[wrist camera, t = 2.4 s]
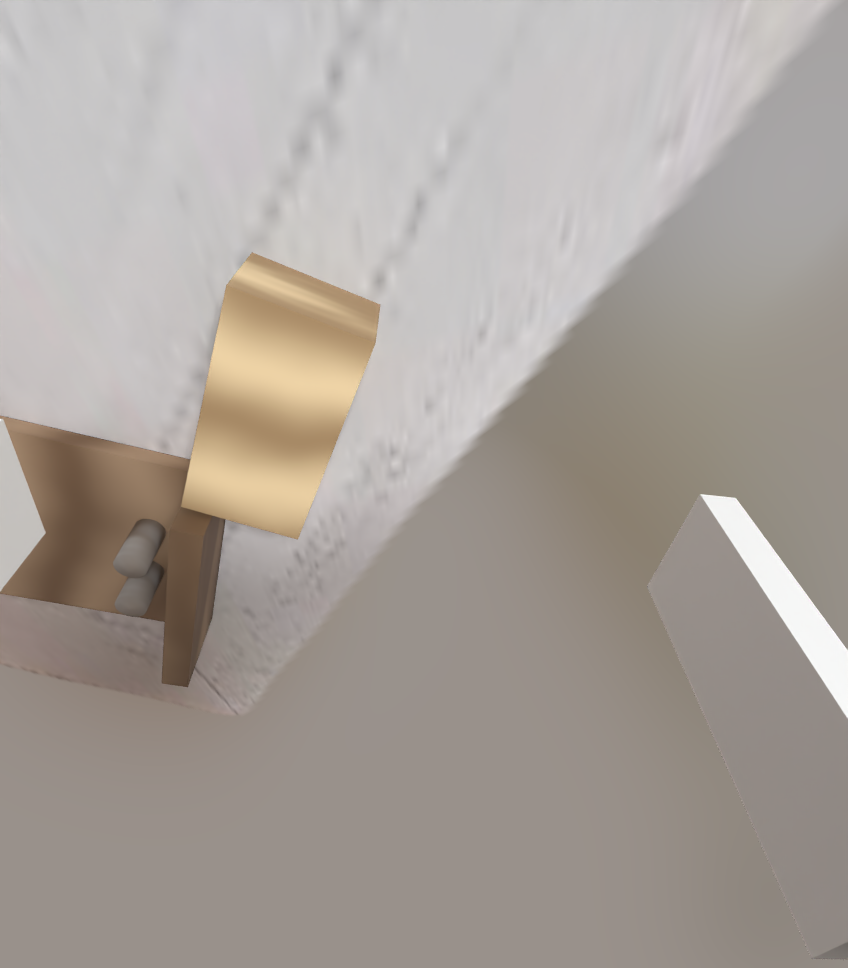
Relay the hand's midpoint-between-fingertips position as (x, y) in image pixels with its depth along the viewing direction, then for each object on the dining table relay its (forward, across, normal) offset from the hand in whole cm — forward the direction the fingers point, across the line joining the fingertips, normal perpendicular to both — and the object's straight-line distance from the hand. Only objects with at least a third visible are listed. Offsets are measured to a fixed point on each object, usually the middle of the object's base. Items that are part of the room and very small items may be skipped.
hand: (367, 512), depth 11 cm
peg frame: (+17, -18, -18) cm, 31 cm away
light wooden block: (+17, -5, -7) cm, 19 cm away
